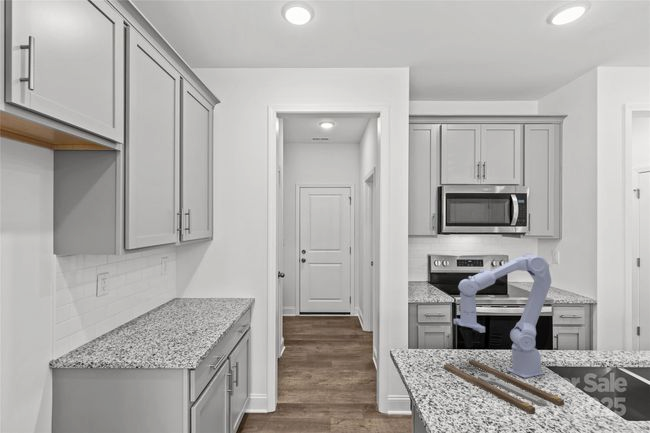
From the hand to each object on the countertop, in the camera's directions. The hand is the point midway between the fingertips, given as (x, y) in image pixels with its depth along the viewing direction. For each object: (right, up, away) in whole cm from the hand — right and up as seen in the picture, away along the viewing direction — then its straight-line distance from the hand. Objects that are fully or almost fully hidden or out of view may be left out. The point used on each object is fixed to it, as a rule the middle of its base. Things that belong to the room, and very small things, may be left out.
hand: (469, 347), depth 142 cm
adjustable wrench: (+6, -9, -18) cm, 21 cm away
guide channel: (+4, -8, -14) cm, 16 cm away
